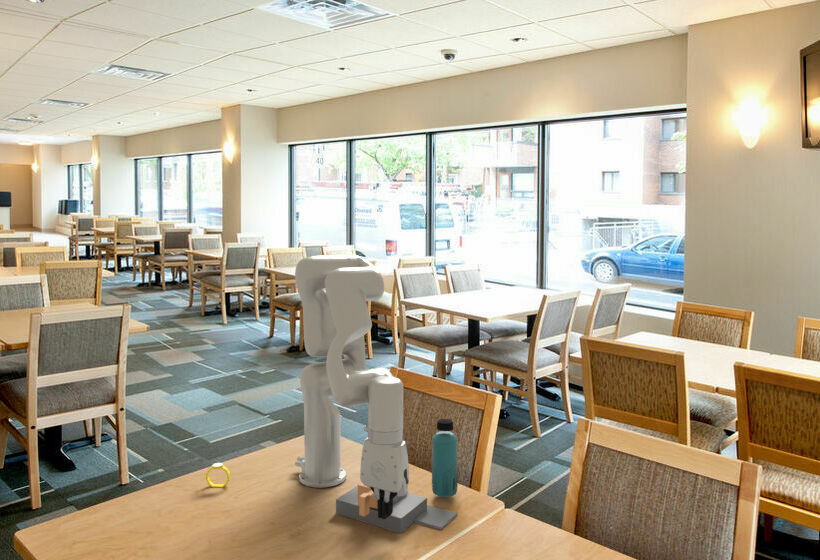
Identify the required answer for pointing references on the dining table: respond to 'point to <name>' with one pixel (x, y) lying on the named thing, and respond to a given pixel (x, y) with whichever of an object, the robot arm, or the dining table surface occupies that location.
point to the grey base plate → (398, 521)
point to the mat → (435, 517)
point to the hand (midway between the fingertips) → (385, 515)
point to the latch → (365, 499)
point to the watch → (218, 466)
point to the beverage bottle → (444, 460)
